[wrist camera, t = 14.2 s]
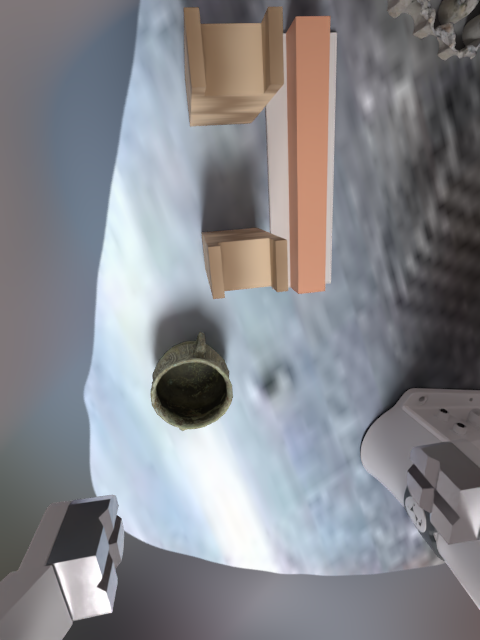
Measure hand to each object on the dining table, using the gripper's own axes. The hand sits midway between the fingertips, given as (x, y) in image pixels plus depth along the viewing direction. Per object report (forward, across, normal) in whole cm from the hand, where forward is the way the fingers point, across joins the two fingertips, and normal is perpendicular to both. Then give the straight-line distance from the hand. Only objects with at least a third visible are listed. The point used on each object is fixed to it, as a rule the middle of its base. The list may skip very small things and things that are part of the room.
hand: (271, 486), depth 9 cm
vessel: (+31, +3, +12) cm, 33 cm away
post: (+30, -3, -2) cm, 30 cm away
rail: (+30, -11, -9) cm, 33 cm away
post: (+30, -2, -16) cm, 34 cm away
